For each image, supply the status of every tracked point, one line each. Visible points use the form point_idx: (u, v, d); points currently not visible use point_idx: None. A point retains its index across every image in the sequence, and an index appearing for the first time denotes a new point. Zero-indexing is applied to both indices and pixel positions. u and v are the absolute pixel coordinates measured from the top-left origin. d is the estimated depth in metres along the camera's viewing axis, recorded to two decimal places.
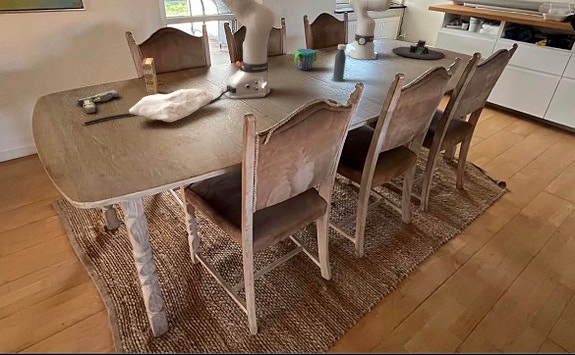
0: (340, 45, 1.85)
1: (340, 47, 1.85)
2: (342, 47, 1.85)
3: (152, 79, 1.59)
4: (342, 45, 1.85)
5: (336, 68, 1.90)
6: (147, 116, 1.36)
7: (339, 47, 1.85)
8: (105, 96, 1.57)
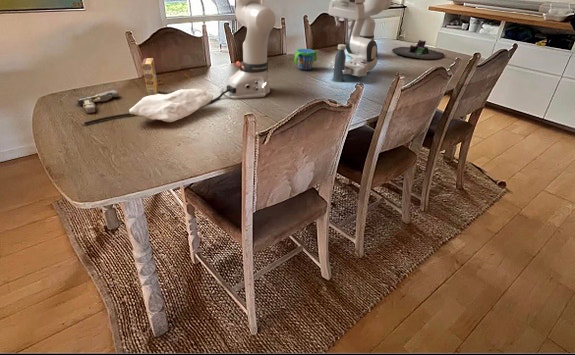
0: (340, 45, 1.85)
1: (340, 47, 1.85)
2: (342, 47, 1.85)
3: (152, 79, 1.59)
4: (342, 45, 1.85)
5: (336, 68, 1.90)
6: (147, 116, 1.36)
7: (339, 47, 1.85)
8: (105, 96, 1.57)
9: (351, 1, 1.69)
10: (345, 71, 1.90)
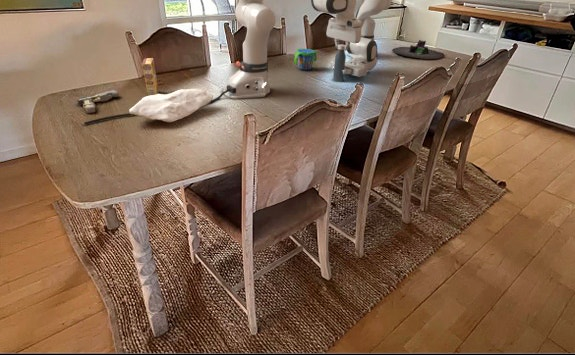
0: (340, 45, 1.85)
1: (340, 47, 1.85)
2: (342, 47, 1.85)
3: (152, 79, 1.59)
4: (342, 45, 1.85)
5: (336, 68, 1.90)
6: (147, 116, 1.36)
7: (339, 47, 1.85)
8: (105, 96, 1.57)
9: (348, 25, 1.75)
10: (345, 71, 1.90)
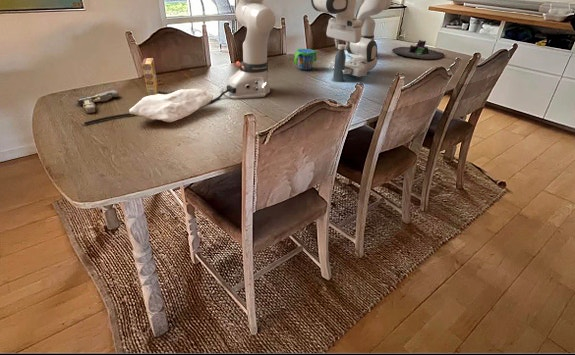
0: (343, 45, 1.85)
1: None
2: None
3: (152, 79, 1.59)
4: (343, 45, 1.86)
5: (336, 68, 1.90)
6: (147, 116, 1.36)
7: None
8: (105, 96, 1.57)
9: (348, 24, 1.75)
10: (345, 71, 1.90)
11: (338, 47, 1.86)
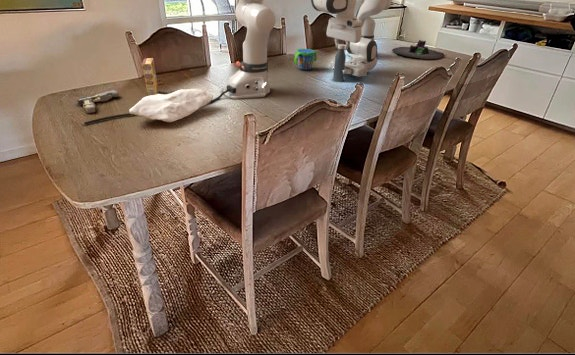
0: (344, 44, 1.86)
1: None
2: None
3: (152, 79, 1.59)
4: (342, 44, 1.86)
5: (336, 68, 1.90)
6: (147, 116, 1.36)
7: None
8: (105, 96, 1.57)
9: (348, 24, 1.75)
10: (345, 71, 1.90)
11: (342, 47, 1.85)
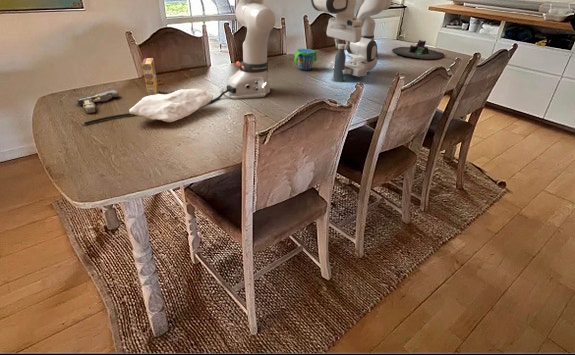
0: (341, 44, 1.87)
1: None
2: None
3: (152, 79, 1.59)
4: (340, 44, 1.86)
5: (336, 68, 1.90)
6: (147, 116, 1.36)
7: None
8: (105, 96, 1.57)
9: (348, 24, 1.75)
10: (345, 71, 1.90)
11: None
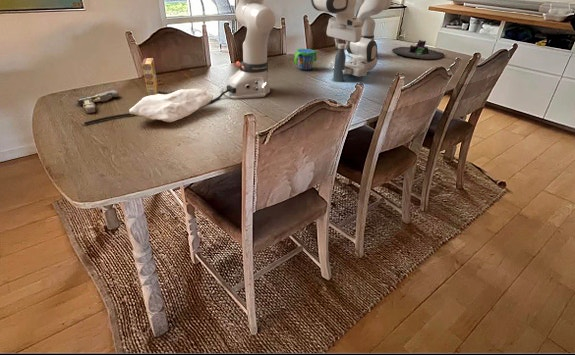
0: (339, 44, 1.86)
1: (338, 45, 1.86)
2: (338, 46, 1.85)
3: (152, 79, 1.59)
4: (341, 44, 1.85)
5: (336, 68, 1.90)
6: (147, 116, 1.36)
7: (338, 45, 1.87)
8: (105, 96, 1.57)
9: (348, 24, 1.75)
10: (345, 71, 1.90)
11: None
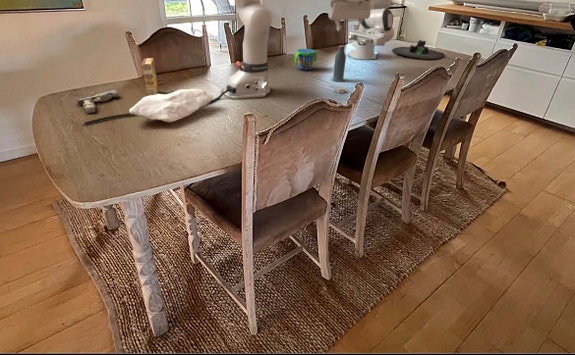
0: (342, 88, 1.78)
1: (344, 90, 1.79)
2: (344, 89, 1.79)
3: (152, 79, 1.59)
4: (342, 88, 1.79)
5: (336, 68, 1.90)
6: (147, 116, 1.36)
7: (343, 90, 1.78)
8: (105, 96, 1.57)
9: None
10: (366, 40, 1.89)
11: (337, 90, 1.79)
